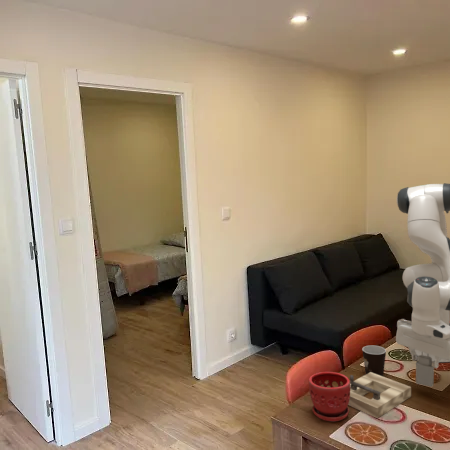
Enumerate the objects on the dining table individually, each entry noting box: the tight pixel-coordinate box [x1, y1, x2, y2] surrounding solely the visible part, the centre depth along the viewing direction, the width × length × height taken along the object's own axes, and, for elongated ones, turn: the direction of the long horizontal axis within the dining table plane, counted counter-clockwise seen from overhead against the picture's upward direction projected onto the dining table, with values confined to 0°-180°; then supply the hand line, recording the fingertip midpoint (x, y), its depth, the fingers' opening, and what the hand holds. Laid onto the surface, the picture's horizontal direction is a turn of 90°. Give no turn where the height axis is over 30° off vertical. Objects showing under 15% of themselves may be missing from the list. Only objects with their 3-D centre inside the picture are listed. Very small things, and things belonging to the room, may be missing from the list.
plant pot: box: [308, 371, 350, 422], centre depth 147 cm, size 13×13×12 cm
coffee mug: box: [361, 345, 387, 377], centre depth 174 cm, size 12×9×10 cm
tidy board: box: [348, 372, 412, 419], centre depth 155 cm, size 20×16×8 cm
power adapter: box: [415, 352, 435, 388], centre depth 154 cm, size 3×5×12 cm, turn 57°
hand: (424, 363), depth 154 cm, fingers closed on power adapter, 6 cm apart
